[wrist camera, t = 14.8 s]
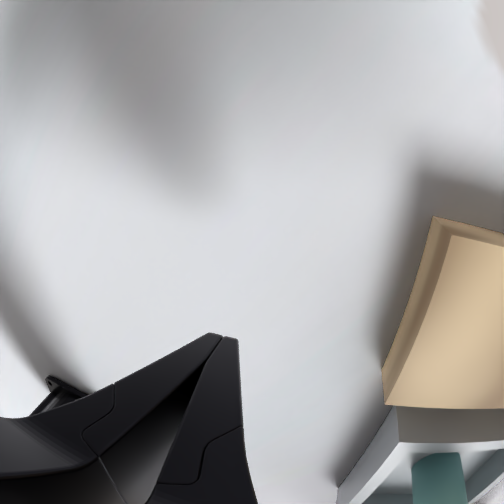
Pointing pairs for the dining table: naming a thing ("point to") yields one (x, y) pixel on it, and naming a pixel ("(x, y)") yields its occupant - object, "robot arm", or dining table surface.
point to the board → (452, 324)
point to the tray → (427, 453)
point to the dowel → (439, 480)
